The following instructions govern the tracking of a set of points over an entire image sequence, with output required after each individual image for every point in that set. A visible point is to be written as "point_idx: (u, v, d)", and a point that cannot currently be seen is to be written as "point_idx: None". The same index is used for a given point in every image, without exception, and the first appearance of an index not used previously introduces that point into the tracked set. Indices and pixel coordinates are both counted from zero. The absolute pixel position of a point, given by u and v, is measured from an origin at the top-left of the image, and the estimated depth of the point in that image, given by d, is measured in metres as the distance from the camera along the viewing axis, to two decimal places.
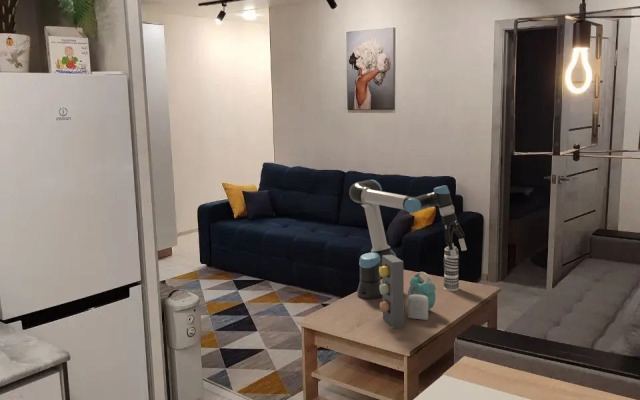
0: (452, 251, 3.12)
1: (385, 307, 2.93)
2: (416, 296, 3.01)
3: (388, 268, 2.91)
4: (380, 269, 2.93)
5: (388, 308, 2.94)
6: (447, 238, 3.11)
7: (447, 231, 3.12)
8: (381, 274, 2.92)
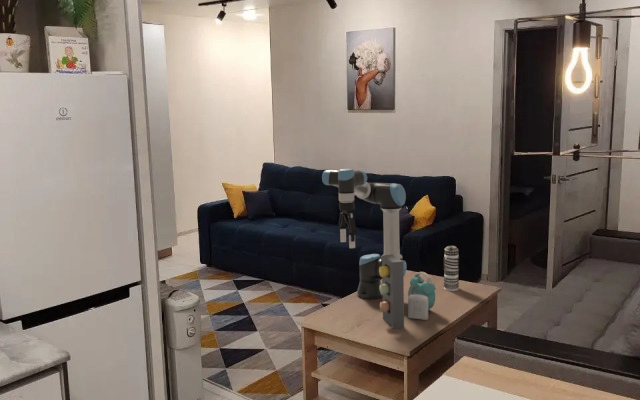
0: (352, 243, 2.82)
1: (385, 307, 2.93)
2: (416, 296, 3.01)
3: (388, 268, 2.91)
4: (380, 269, 2.93)
5: (388, 308, 2.94)
6: (354, 228, 2.79)
7: (353, 221, 2.80)
8: (381, 274, 2.92)
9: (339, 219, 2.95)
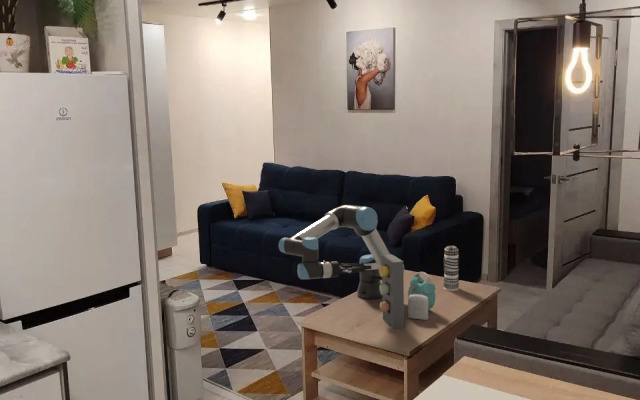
0: (372, 266, 2.89)
1: (385, 307, 2.93)
2: (416, 296, 3.01)
3: (388, 268, 2.91)
4: (380, 269, 2.93)
5: (388, 308, 2.94)
6: (361, 268, 2.84)
7: (354, 269, 2.82)
8: (381, 274, 2.92)
9: None
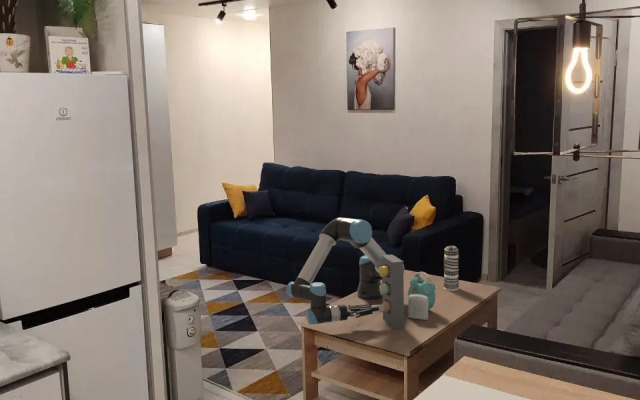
0: (380, 308, 2.94)
1: (388, 307, 2.94)
2: (416, 296, 3.01)
3: (388, 268, 2.91)
4: (380, 269, 2.93)
5: None
6: (368, 311, 2.89)
7: (362, 312, 2.87)
8: (381, 274, 2.92)
9: None
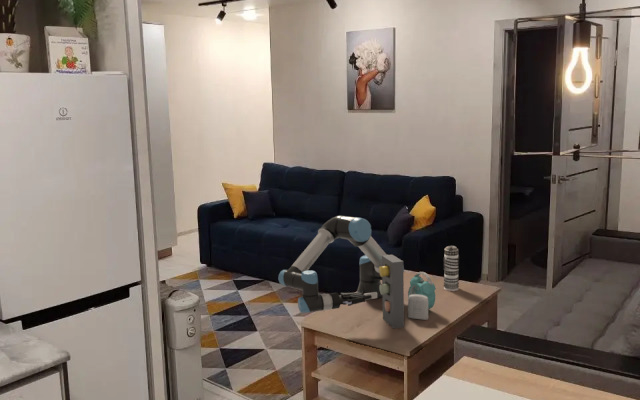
0: (372, 296, 2.91)
1: None
2: (416, 296, 3.01)
3: (388, 268, 2.91)
4: (380, 269, 2.93)
5: None
6: (361, 299, 2.86)
7: (354, 300, 2.84)
8: (381, 274, 2.92)
9: None
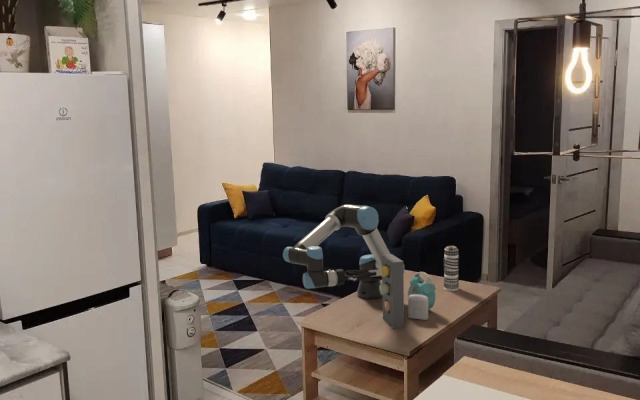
0: (377, 273, 2.91)
1: None
2: (416, 296, 3.01)
3: (389, 268, 2.91)
4: None
5: None
6: (366, 275, 2.86)
7: (359, 276, 2.84)
8: (382, 274, 2.92)
9: None
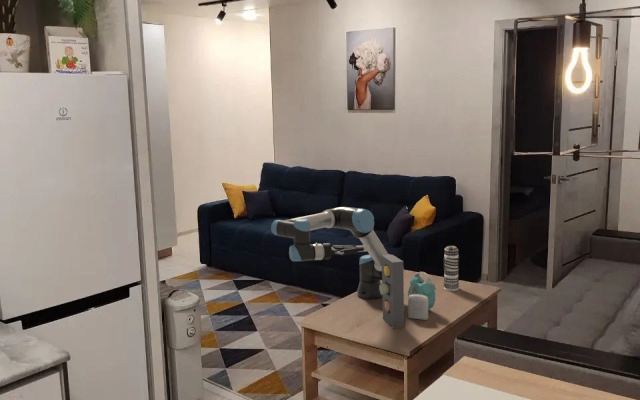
0: (365, 248, 2.88)
1: None
2: (416, 296, 3.01)
3: None
4: (385, 268, 2.93)
5: None
6: (353, 250, 2.82)
7: (346, 251, 2.81)
8: (386, 273, 2.93)
9: None
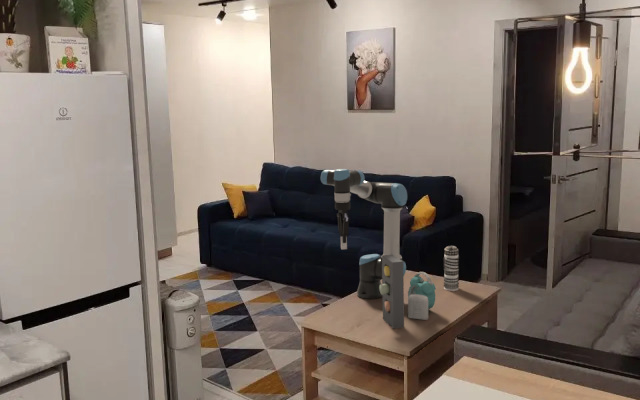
0: (344, 244, 2.92)
1: None
2: (416, 296, 3.01)
3: None
4: (385, 268, 2.93)
5: None
6: (346, 231, 2.88)
7: (347, 224, 2.86)
8: (386, 273, 2.93)
9: (338, 225, 2.95)
